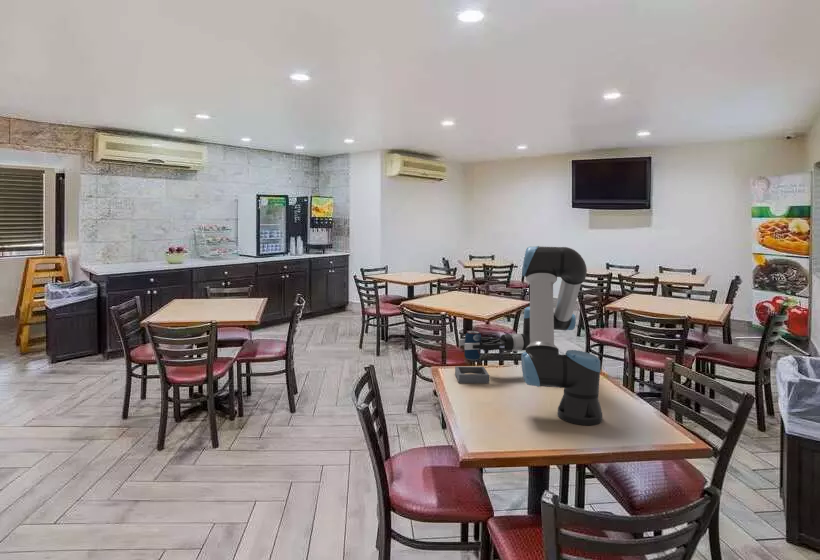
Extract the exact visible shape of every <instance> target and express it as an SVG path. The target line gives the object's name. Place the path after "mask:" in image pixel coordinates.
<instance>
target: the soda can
mask: <svg viewBox="0 0 820 560" xmlns="http://www.w3.org/2000/svg"><path fill="white" fill-rule="evenodd" d="M481 337H482V335H481V331H478V330H475V329H474V330H466V333H465V335H464V339H465V343H480V342H481ZM481 352H482V350H481V349H474V350H465V349H464V357H465V359H466V360H469V361H478V360H479V359H480V358H481Z"/></svg>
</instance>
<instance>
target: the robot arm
mask: <svg viewBox="0 0 820 560" xmlns="http://www.w3.org/2000/svg"><path fill="white" fill-rule="evenodd" d="M524 252H525V253H524V257H523V264H522V270H521V271H522V272H521V276H523V277H525V281H526V282H527V283H528V284H529V306H527V307H525V308H524V313H523V325H522V326H523V329H522V333H509V334H508V333H506V334H505V333H504V334H501V336H500V337H499V338H498V337H493V336H481V342H480V343H465V338H459V339H458V346H464V351H465V350H474V349H481V351H484V352H486V351H497V350H501V351H503V352H512V351H513V352H515V353H518V351H519V352H521V351H524V352H521V356H520V358H521V359H520V360H521V371H522V377H523V381H524V382H525V384H526V385H528V386H534V387H538V388H540V387H546V388H547V387H548V388H557V389H558V388H561V389H563V393H562V397H561V400H560V402H559V405H558V407H557V414H556V415H557V417H559V419H561V420H563V421H565V422H567V423H570V424H575V425H581V426H595V425H599V424H601V423H602V422H603V411H602V408H601V403H600V400H599V392H600V390H599V389H600V377H601V376H600V375H601V371H602V370H601V360H600V358H599V357H598V356H596V355H594V354H593V353H589V352H587V351H582V350H576V349H568V350H566V351H565V354H560V353H559V351H560V350H559V348H558V347H557V346H556V345H555V330H556V331H565V332H566V331H573V330H575V328H576V323H577V322H576V319H577V318H576V314H574V310H575V306H576V302H577V300H578V296H579V292H580V289H581V285H582V284H583V283H584V282H585V281H586V279H587V277H586V276H587V274H588V273H587V272H588V270H587V264H586V262H585V259H584V258H583V257H582V255H581V254H580V253H579V252H577V251H576V250H575V249H573V248H570V247H566V246H562V247H561V246H540V245H537V246H528V247H526V248H525V251H524ZM558 278H561V281H560V286H559V290H558V295H557V299H556V304H555V307H554V284H555V283H556V282H557V281H558Z"/></svg>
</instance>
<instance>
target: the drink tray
mask: <svg viewBox="0 0 820 560" xmlns="http://www.w3.org/2000/svg"><path fill="white" fill-rule="evenodd" d="M486 369H487V368H485V366H464V365H463V366H462V365H460V366H459V365H456V366H454V375H455V378H456V380H457V382H458V384H490V374H489V373H488V371H487V370H486Z"/></svg>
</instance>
